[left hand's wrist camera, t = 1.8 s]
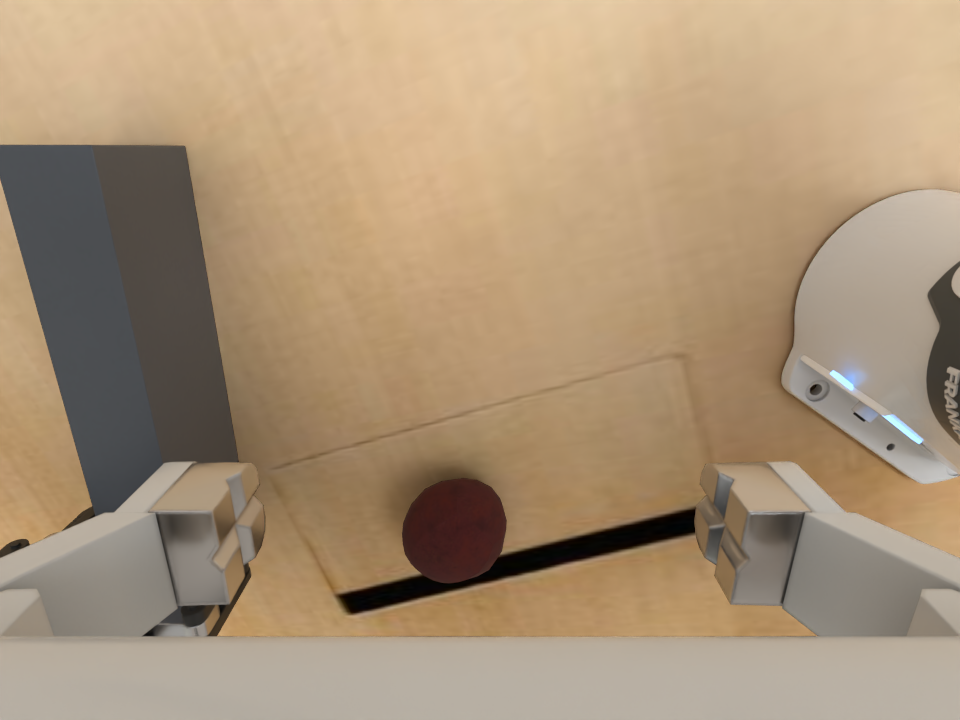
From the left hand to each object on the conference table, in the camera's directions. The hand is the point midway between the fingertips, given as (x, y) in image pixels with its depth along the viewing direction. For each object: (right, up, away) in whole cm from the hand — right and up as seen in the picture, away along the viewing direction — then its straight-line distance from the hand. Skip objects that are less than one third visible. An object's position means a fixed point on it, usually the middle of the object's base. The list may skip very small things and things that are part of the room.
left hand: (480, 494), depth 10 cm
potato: (-2, -9, +34) cm, 35 cm away
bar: (-21, +3, +30) cm, 36 cm away
